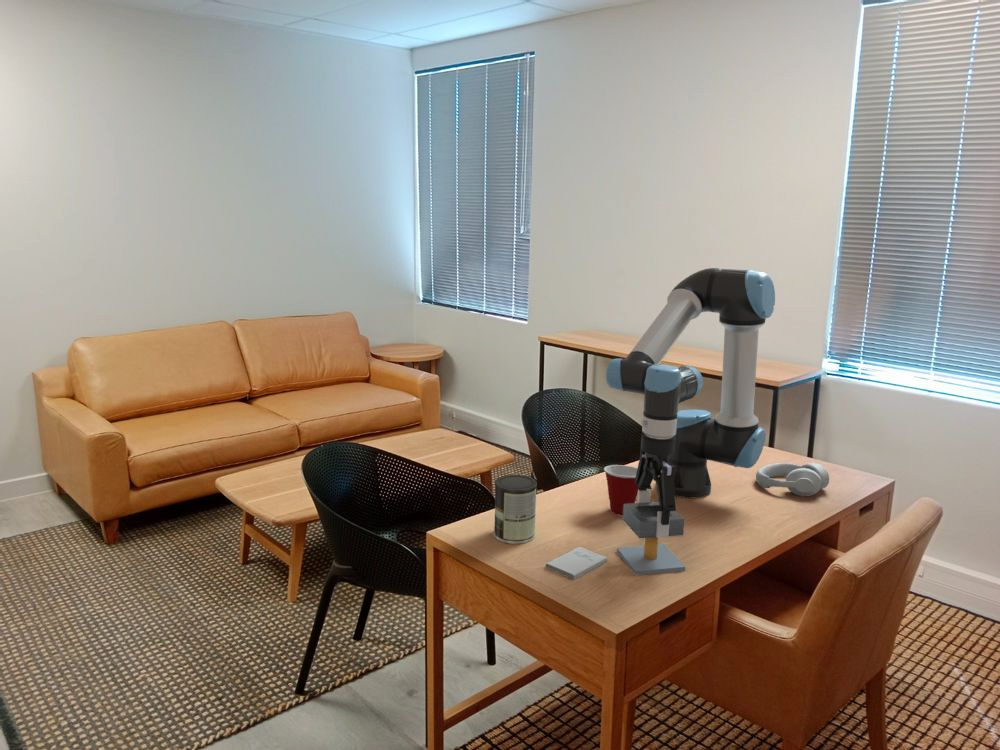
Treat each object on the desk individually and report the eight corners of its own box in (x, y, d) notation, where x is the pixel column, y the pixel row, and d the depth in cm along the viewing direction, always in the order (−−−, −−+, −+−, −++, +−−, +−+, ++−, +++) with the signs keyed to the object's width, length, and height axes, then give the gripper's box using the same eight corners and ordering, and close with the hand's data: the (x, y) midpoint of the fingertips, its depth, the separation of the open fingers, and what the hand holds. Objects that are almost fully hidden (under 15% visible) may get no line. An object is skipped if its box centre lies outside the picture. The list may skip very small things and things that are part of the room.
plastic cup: (648, 509, 212) (651, 467, 209) (633, 522, 203) (636, 479, 200) (611, 500, 217) (613, 459, 215) (595, 513, 208) (597, 471, 205)
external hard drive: (545, 569, 178) (578, 552, 187) (574, 581, 172) (606, 563, 181) (545, 562, 177) (578, 545, 186) (574, 574, 172) (607, 556, 181)
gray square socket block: (664, 517, 186) (665, 501, 185) (683, 535, 176) (684, 518, 175) (622, 519, 184) (623, 503, 183) (639, 538, 173) (640, 521, 173)
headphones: (838, 486, 230) (773, 478, 244) (837, 461, 229) (772, 454, 243) (812, 503, 217) (745, 493, 231) (811, 475, 216) (744, 467, 230)
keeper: (663, 547, 189) (665, 524, 187) (685, 570, 177) (687, 546, 176) (616, 551, 186) (617, 528, 185) (635, 575, 175) (636, 550, 173)
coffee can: (485, 537, 193) (486, 483, 189) (508, 523, 201) (510, 471, 198) (520, 548, 187) (522, 492, 184) (543, 533, 195) (544, 480, 192)
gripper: (624, 420, 185) (619, 508, 190) (664, 451, 163) (656, 549, 168) (654, 419, 186) (648, 506, 191) (697, 449, 164) (689, 546, 169)
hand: (652, 526), depth 180 cm, fingers closed on gray square socket block, 10 cm apart
